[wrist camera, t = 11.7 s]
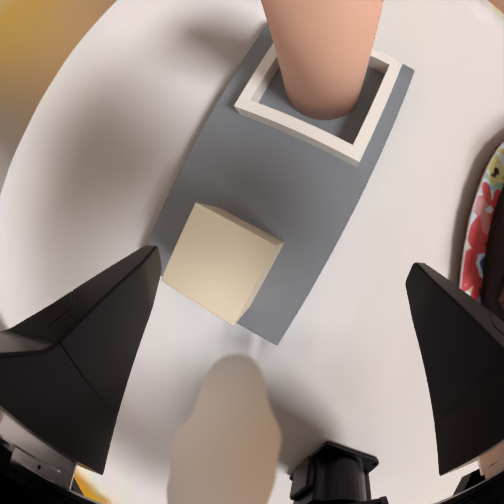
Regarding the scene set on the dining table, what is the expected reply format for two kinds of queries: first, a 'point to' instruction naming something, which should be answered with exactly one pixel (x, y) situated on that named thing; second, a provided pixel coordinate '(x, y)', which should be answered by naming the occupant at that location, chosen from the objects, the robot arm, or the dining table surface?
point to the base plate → (270, 192)
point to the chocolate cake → (486, 239)
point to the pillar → (323, 51)
